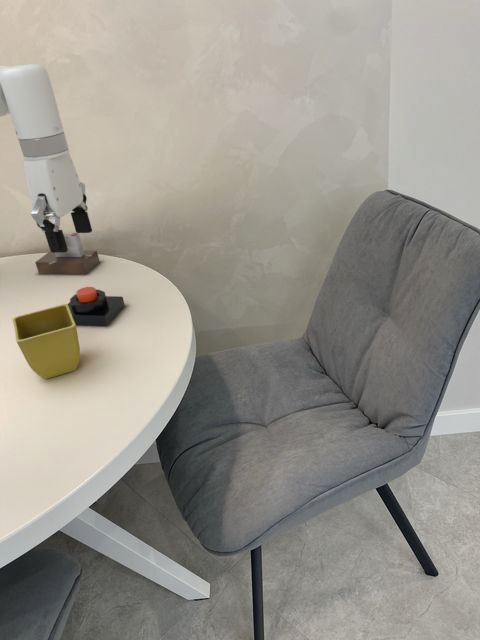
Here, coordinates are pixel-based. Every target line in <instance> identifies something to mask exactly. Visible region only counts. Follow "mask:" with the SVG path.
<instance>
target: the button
mask: <svg viewBox="0 0 480 640" xmlns="http://www.w3.org/2000/svg"><path fill="white" fill-rule="evenodd" d="M96 290H97V289H96V287H95V286H85V287H81V288H79V289H77V290H76V292H75V294H77V298H78V301H79V302H89V301H92V300H94V299H96V298H97V297H98V296H97V292H96Z"/></svg>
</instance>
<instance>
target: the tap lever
mask: <svg viewBox="0 0 480 640" xmlns="http://www.w3.org/2000/svg"><path fill="white" fill-rule="evenodd" d="M63 235H64V238H65V241H66V245H67V248H68V251H67V252H58V253H55V256H56V257H82V256H83V255H84V251H83V250H84V248H83V244H82V240H81V237H80V233H77V232H73V233H63Z"/></svg>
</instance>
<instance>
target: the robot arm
mask: <svg viewBox="0 0 480 640" xmlns="http://www.w3.org/2000/svg"><path fill="white" fill-rule="evenodd" d="M53 89H54V88H53V86H52V82H51V79H50V75H49V72H48V71H47V68H45V66H44V65H42V64H39V63H28V64H19V65H13V66H9V65H0V118H1V117H4V116H8V115H10V119H11V121H12V125H13V127H14V130H15V131H14V132H15V134H16V137H17V140H18V143H19V146H20V147H19V148H20V150H21V153H22V156H23V170H24V177H25V181H26V184H27V185H26V186H27V190H28V194H29V197H30V202H31V205H32V210H31V212H30V215H31V217H32V219H33V220H34V221H35V223H36V226H37V227H38V228H40V230H41V232H42V233H44V235H45V238H46V241H47V244H48V247H49V252H50V251H51V252H52V253H58V252H67V251H68V248H67V245H66V241H65V238H64V235H63V234H64V232H63V229H60V225H61V218H62V217H64V216H66V215H67V214H69V213H70V216H71V219H72V223H73V226H74V230H75V233H78V234H90V233H92V232H93V228H92V225H91V221H90V217H89V213H88V210H89V209H88V208H89V207H88V205H87V198H88V197H87V194H86V184H85V183H84V182H80V178H79V175H78V171H77V170H76V166H75V164H74V161H73V157H72V156H71V153H70V149H69V144H68V141H67V138H66V134H65V130H64V127H63V122H62V118H61V116H60V111H59V109H58V105H57V101H56V96H55V94H54V90H53ZM50 220H52V221H50Z"/></svg>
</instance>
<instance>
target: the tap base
mask: <svg viewBox="0 0 480 640" xmlns="http://www.w3.org/2000/svg"><path fill="white" fill-rule="evenodd" d="M83 251H84V255H83V256H82V257H56V256H55V253H52V252H51V251H50V250H49V251H47V253H45V254H44V255H43V256H41V257H39V259H37V260H36V261H35V262H34V263H35V267H36V269H37V272H38V274H39V275H72V276H73V275H75V276H76V275H84V276H86V275H87V274H89V273H90V272H91V271H92V270H93V269H94V268H95V267H96V266H97V265H99V264H100V263H101V261H100V258H99V254H98V253H99V252H98V250H97V249H96V250H95V249H91V250H88V249H87V250H84V249H83Z"/></svg>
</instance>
